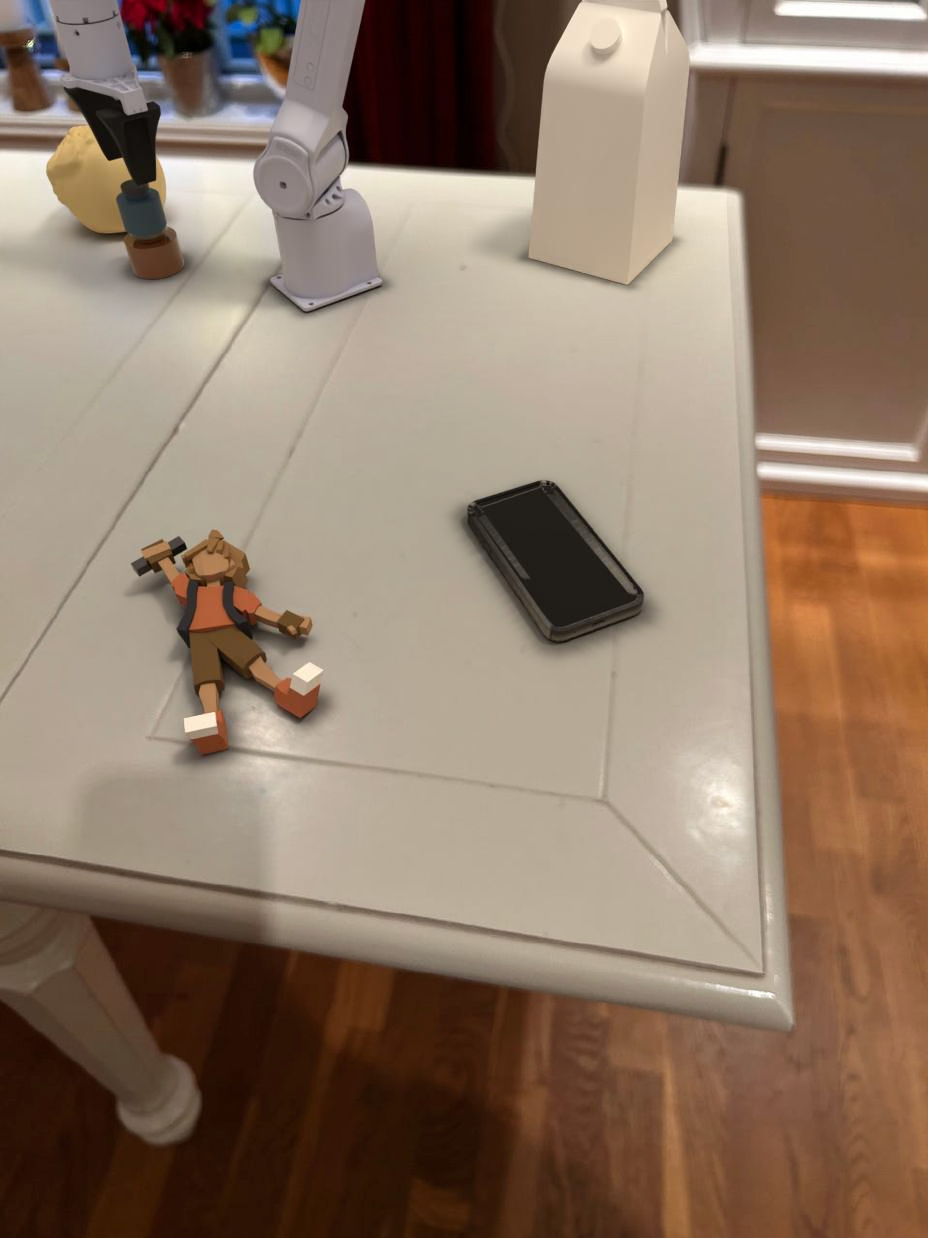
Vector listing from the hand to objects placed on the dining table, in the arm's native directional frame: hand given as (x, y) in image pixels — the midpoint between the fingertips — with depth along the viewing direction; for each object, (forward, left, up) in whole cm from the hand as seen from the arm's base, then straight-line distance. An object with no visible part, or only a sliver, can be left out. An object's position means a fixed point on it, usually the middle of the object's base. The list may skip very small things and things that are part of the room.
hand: (131, 169), depth 93 cm
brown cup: (0, 0, -10) cm, 10 cm away
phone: (-5, +62, -10) cm, 63 cm away
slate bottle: (0, 0, -6) cm, 6 cm away
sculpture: (-1, -13, -11) cm, 17 cm away
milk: (-41, +27, -11) cm, 50 cm away
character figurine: (+18, +55, -11) cm, 59 cm away
